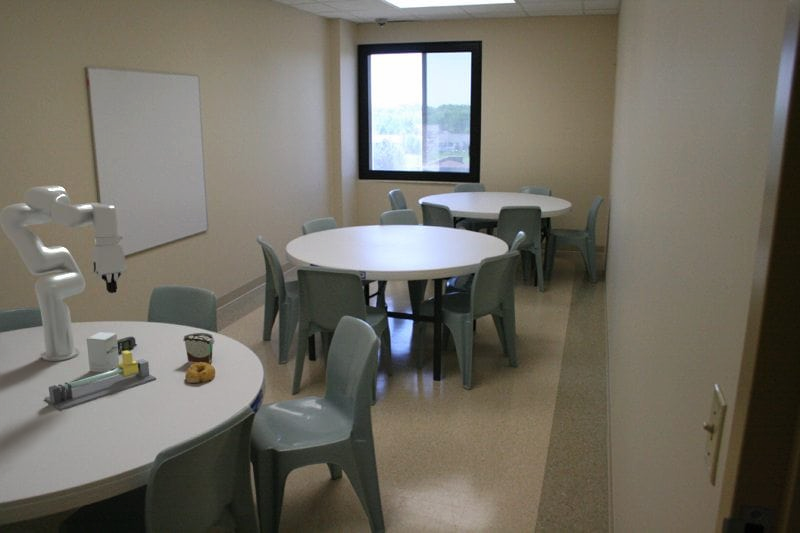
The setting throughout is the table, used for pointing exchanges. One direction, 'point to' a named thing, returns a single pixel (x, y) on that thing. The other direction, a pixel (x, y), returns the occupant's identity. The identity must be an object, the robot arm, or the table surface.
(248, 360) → the table surface
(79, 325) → the table surface
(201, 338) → the food container
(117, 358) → the supplement box
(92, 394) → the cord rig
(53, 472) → the table surface
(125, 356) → the sleeve
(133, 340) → the mobile phone
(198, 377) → the bagel
